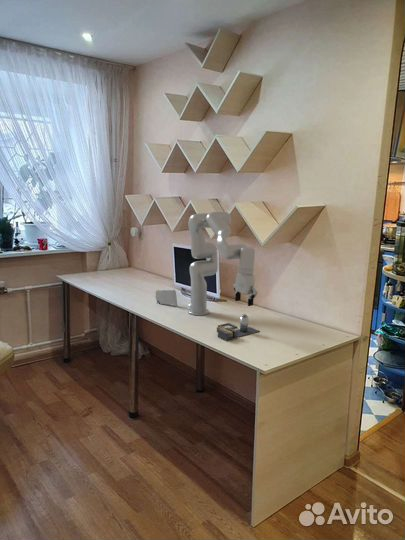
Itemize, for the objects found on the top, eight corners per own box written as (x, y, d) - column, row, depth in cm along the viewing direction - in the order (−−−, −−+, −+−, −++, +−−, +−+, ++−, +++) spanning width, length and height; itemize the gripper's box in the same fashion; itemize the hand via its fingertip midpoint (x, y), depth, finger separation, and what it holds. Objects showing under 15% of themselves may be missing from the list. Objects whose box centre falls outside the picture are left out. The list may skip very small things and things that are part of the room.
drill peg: (238, 331, 215) (239, 314, 214) (243, 329, 218) (244, 313, 216) (243, 333, 212) (244, 316, 211) (249, 331, 215) (249, 315, 213)
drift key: (216, 332, 211) (216, 327, 211) (220, 331, 213) (220, 326, 212) (229, 337, 203) (229, 332, 203) (233, 336, 205) (233, 331, 204)
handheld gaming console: (158, 305, 269) (177, 306, 262) (156, 306, 267) (175, 307, 259) (156, 289, 268) (175, 289, 260) (154, 289, 266) (173, 289, 258)
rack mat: (228, 332, 214) (228, 332, 214) (249, 327, 223) (249, 326, 223) (238, 337, 208) (238, 336, 207) (259, 331, 216) (259, 330, 216)
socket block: (217, 337, 207) (218, 329, 206) (228, 334, 211) (228, 327, 211) (226, 341, 202) (226, 333, 201) (237, 338, 206) (237, 331, 205)
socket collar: (217, 326, 223) (217, 325, 223) (228, 324, 228) (228, 322, 228) (226, 330, 217) (226, 329, 217) (237, 327, 222) (237, 326, 222)
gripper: (229, 268, 213) (227, 299, 217) (252, 275, 200) (250, 308, 204) (240, 267, 218) (238, 297, 222) (263, 274, 204) (260, 306, 208)
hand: (243, 303), depth 213 cm, fingers open, 9 cm apart
